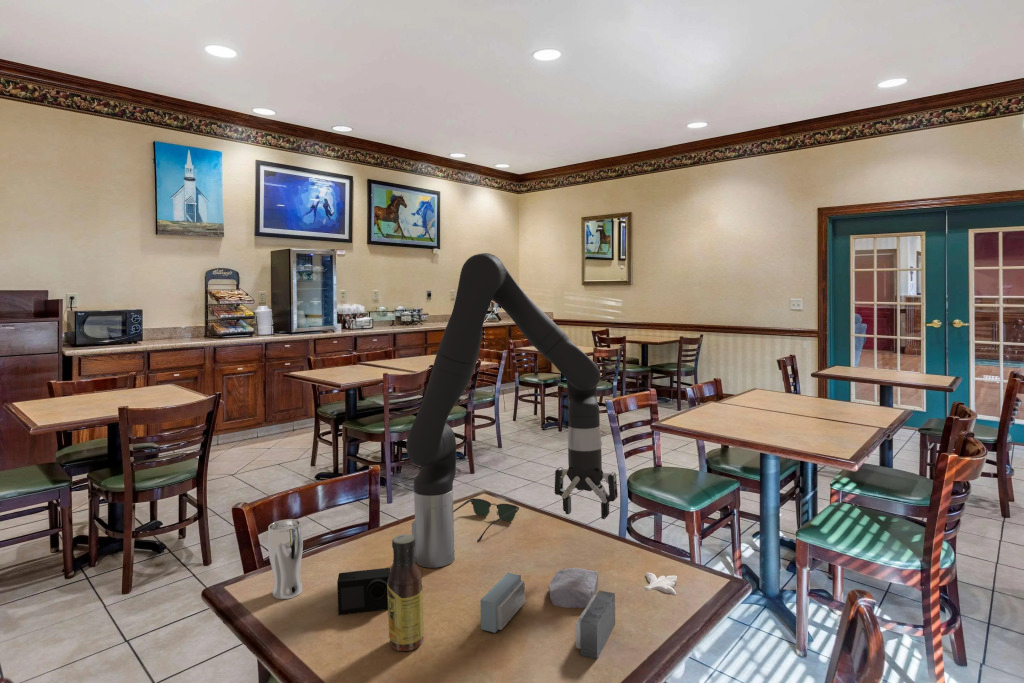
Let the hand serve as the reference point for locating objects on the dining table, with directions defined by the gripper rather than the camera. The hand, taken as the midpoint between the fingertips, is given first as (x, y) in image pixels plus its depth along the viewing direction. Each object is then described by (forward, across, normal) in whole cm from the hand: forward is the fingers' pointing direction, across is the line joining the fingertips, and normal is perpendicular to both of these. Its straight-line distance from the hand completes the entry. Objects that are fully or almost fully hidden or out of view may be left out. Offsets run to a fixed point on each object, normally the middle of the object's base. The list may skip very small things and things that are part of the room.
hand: (586, 515), depth 133 cm
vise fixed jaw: (+13, +10, -26) cm, 30 cm away
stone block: (+13, +1, -12) cm, 18 cm away
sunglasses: (+13, -36, +14) cm, 40 cm away
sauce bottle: (+13, -21, -41) cm, 48 cm away
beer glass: (+12, -56, -35) cm, 67 cm away
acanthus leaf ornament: (+14, +17, -1) cm, 22 cm away
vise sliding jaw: (+12, -9, -26) cm, 30 cm away
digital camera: (+13, -36, -34) cm, 51 cm away
